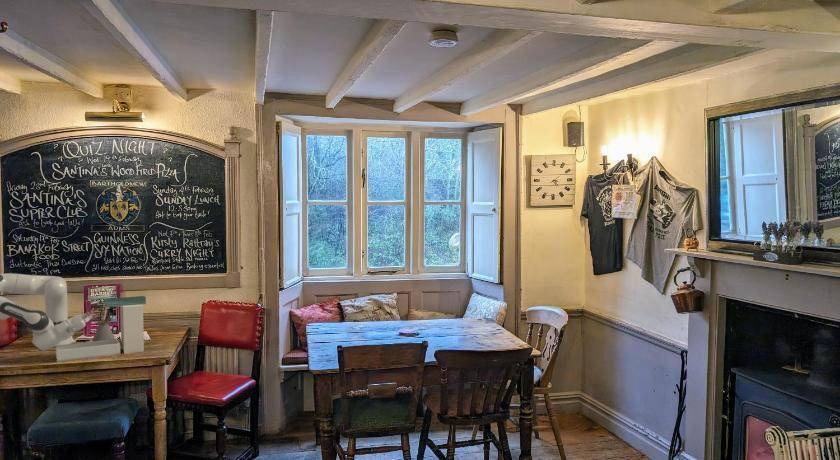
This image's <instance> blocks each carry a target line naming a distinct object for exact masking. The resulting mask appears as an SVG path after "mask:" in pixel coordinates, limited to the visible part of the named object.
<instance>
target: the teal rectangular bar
mask: <svg viewBox="0 0 840 460" xmlns="http://www.w3.org/2000/svg"><path fill="white" fill-rule="evenodd" d="M146 298H147V297H146V296H145V295H137V296H136V295H135V296H125V297H113V298H111V297H110V298H105V299H104V301H105V305H104V306H105V307H106V308H114V307H120V306H129V305H141V304H142V305H146V304H147V299H146Z"/></svg>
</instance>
